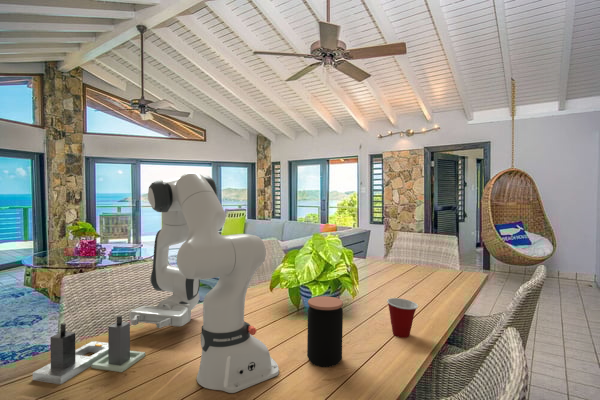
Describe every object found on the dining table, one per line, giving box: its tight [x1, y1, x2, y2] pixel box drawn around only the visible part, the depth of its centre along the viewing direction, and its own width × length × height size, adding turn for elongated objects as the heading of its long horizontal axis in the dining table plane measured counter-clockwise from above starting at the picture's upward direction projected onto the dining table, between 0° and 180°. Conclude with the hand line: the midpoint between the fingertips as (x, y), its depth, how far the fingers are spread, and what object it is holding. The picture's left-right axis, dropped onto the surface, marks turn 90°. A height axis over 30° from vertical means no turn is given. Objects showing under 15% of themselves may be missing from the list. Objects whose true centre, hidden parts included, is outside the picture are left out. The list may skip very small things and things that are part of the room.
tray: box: [91, 350, 146, 373], centre depth 103 cm, size 10×10×2 cm
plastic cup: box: [386, 297, 419, 339], centre depth 126 cm, size 11×11×12 cm
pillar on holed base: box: [32, 322, 108, 385], centre depth 101 cm, size 20×9×14 cm, turn 168°
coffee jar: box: [306, 295, 344, 368], centre depth 107 cm, size 11×11×18 cm
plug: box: [107, 315, 131, 366], centre depth 103 cm, size 4×4×13 cm
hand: (145, 324), depth 115 cm, fingers open, 8 cm apart
